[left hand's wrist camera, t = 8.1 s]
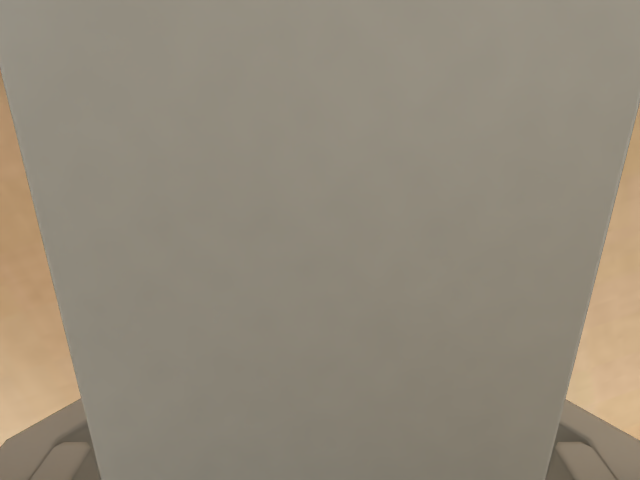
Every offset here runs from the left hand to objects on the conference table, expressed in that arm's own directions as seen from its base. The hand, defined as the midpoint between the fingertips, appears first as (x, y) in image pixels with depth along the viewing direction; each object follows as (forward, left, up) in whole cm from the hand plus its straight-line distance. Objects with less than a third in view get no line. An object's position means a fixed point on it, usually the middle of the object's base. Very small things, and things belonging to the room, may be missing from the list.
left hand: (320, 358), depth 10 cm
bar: (-7, +7, -3) cm, 10 cm away
